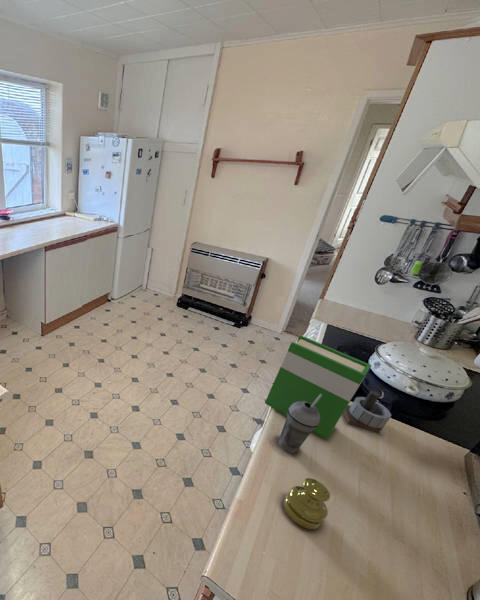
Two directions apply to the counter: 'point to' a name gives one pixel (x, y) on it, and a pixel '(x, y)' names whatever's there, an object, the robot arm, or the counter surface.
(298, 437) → the beverage cup
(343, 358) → the hardback book
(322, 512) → the brass knobbed weight
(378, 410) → the grey faceted ring
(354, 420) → the peg stand
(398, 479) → the counter surface
